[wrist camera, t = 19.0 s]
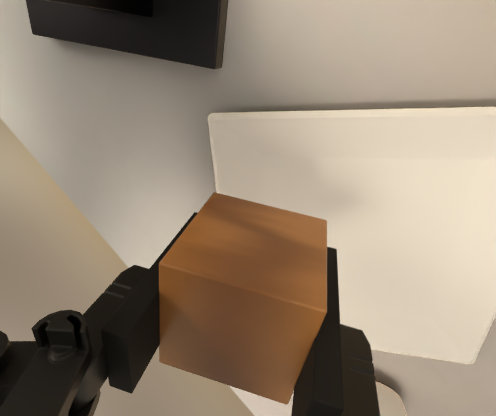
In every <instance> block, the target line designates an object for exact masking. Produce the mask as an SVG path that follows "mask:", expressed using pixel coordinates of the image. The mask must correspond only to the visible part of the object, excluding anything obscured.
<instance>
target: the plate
mask: <svg viewBox="0 0 496 416" xmlns="http://www.w3.org/2000/svg"><path fill="white" fill-rule="evenodd" d="M207 119H208V127H209V135H210V143H211V151H212V159H213V167H214V176H215V184H216V192H217V193H220V194H224V195H228V196H232V197H236V198H240V199H244V200H248V201H252V202H256V203H260V204H264V205H268V206H272V207H276V208H280V209H284V210H288V211H292V212H296V213H300V214H304V215H308V216H312V217H316V218H320V219H324V220H327V247H331V248H335V249H337V266H338V288H339V311H340V324H343V325H346V326H349V327H353V328H356V329H360V330H362V331H363V332H364V334H365V336H366V338H367V340H368V342H369V344H370V346H371V350H377V351H383V352H390V353H397V354H403V355H410V356H416V357H423V358H429V359H436V360H443V361H449V362H456V363H462V364H472V363H474V362H475V360H476V358H477V356H478V353H479V351H480V349H481V347H482V345H483V343H484V340H485V338H486V336H487V334H488V332H489V330H490V328H491V325H492V323H493V321H494V319H495V317H496V107H459V108H413V109H368V110H322V111H276V112H231V113H211V114H210V115H209V116H208V118H207Z"/></svg>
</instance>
